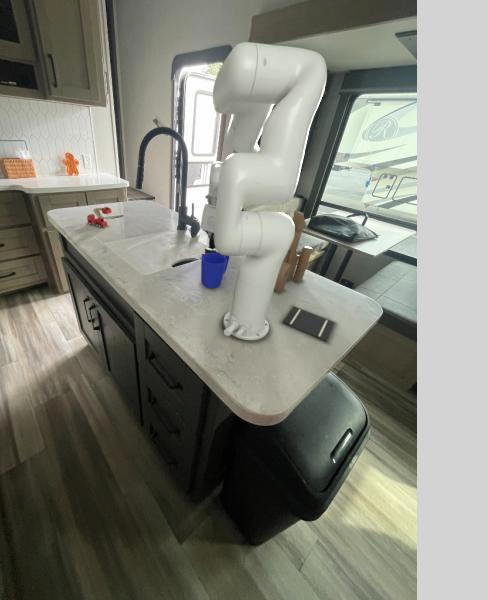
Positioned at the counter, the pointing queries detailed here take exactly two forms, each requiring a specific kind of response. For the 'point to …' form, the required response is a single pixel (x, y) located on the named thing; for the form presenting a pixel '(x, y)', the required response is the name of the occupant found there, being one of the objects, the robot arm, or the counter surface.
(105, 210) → the toy fire truck
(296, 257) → the wooden toy
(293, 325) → the mat
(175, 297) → the counter surface
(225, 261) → the mug
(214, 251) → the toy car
